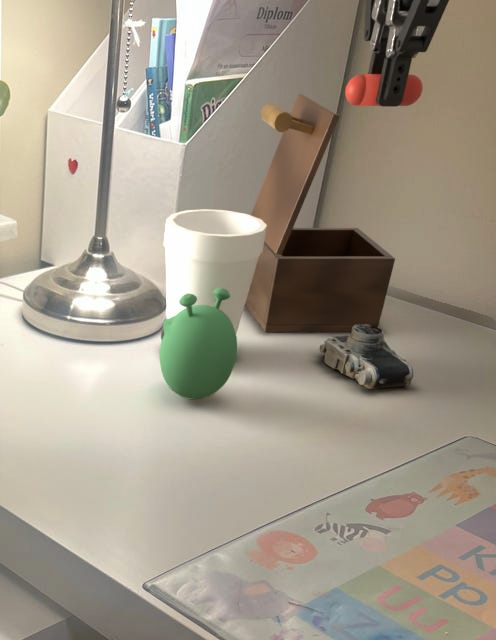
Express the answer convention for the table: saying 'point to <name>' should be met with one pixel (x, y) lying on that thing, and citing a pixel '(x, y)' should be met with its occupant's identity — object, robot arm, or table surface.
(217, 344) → the alien toy
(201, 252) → the foam cup
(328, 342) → the camera
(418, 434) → the table surface
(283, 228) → the bin lid
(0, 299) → the table surface
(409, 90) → the red pill shape
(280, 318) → the bin
